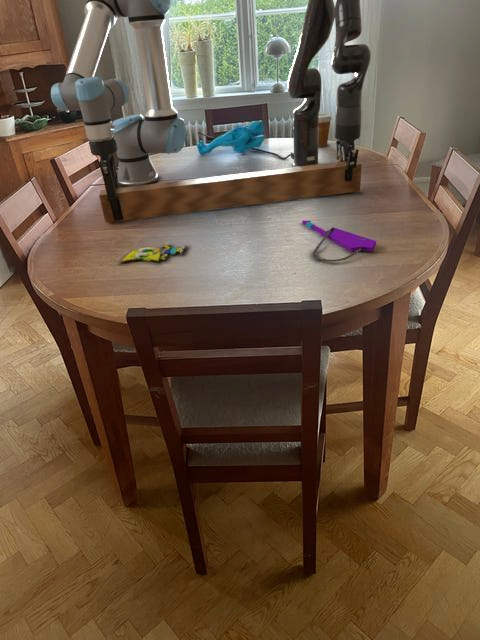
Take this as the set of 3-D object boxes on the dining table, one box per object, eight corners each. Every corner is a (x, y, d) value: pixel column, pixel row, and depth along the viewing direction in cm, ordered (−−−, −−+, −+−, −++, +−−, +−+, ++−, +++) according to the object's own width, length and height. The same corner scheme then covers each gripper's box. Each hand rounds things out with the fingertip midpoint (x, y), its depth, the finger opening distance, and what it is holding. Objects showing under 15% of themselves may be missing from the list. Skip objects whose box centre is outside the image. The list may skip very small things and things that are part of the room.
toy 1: (177, 259, 120) (120, 260, 122) (177, 262, 121) (121, 263, 123) (186, 242, 129) (132, 243, 131) (186, 245, 129) (133, 246, 131)
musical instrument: (359, 272, 111) (387, 230, 123) (358, 264, 110) (387, 222, 122) (269, 260, 124) (303, 223, 136) (267, 253, 122) (302, 216, 134)
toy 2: (202, 134, 216) (265, 114, 206) (210, 157, 221) (271, 139, 211) (191, 144, 203) (258, 123, 192) (200, 168, 208) (265, 149, 197)
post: (105, 222, 147) (98, 195, 142) (107, 216, 151) (100, 190, 146) (360, 191, 153) (361, 164, 148) (354, 186, 157) (356, 159, 152)
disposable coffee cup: (306, 147, 207) (306, 118, 200) (312, 142, 214) (312, 113, 207) (328, 148, 203) (328, 117, 197) (333, 142, 211) (334, 113, 204)
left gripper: (112, 144, 129) (130, 225, 142) (117, 130, 144) (133, 204, 157) (84, 147, 128) (104, 229, 141) (92, 133, 143) (109, 207, 156)
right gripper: (368, 125, 137) (364, 183, 147) (352, 115, 149) (349, 170, 159) (343, 128, 137) (341, 186, 146) (328, 118, 149) (327, 173, 158)
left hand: (119, 216), depth 149 cm, fingers closed on post, 5 cm apart
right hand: (345, 177), depth 152 cm, fingers closed on post, 5 cm apart
